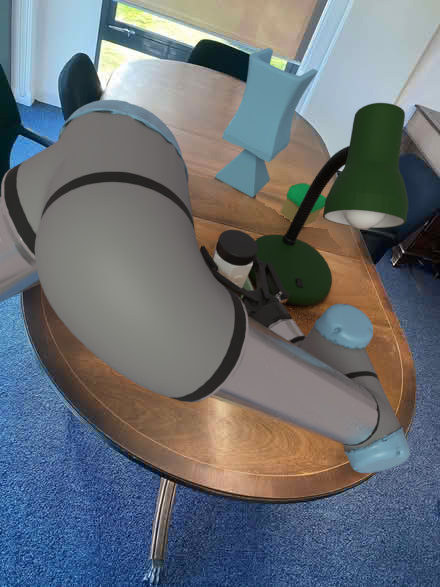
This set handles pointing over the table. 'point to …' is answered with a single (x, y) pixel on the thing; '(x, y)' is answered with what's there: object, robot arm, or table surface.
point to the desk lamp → (343, 202)
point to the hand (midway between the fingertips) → (220, 247)
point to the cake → (295, 200)
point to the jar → (235, 255)
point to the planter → (262, 122)
